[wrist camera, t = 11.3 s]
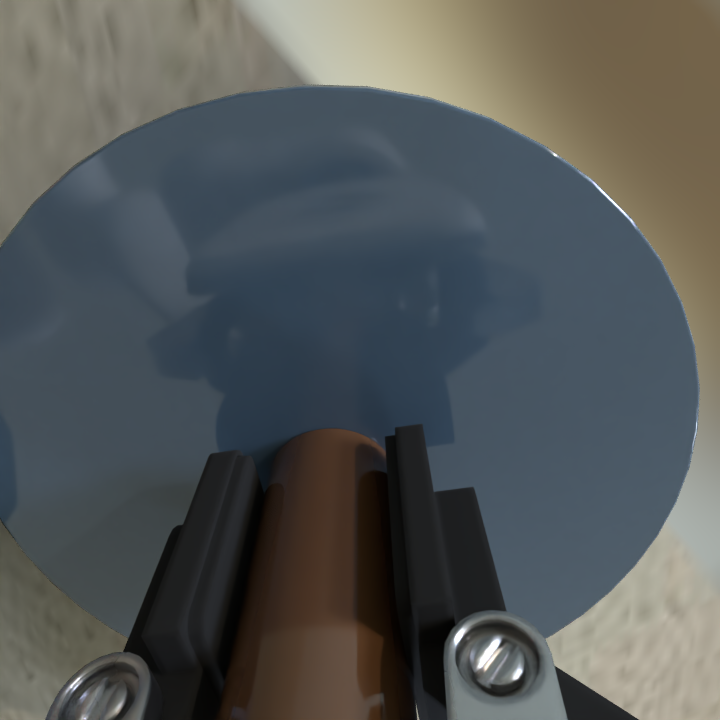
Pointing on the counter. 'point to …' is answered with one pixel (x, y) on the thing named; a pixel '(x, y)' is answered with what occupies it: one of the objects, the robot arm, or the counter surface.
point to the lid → (336, 372)
